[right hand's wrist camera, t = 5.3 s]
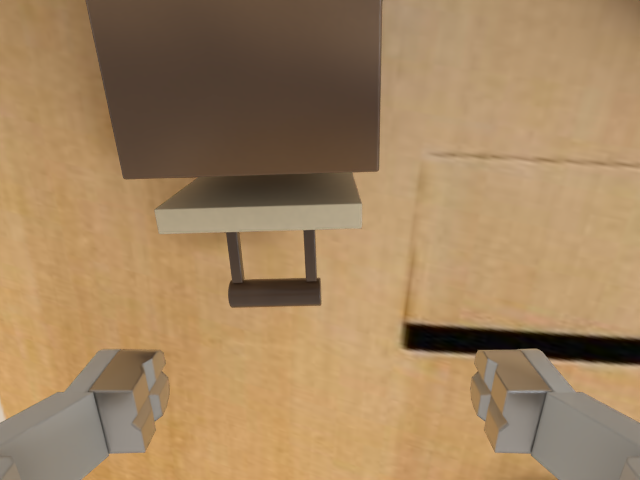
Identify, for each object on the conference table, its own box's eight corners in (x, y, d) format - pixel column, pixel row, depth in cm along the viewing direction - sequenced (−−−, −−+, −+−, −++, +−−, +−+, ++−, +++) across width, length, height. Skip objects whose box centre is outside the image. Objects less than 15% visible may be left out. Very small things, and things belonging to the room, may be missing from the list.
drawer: (351, 267, 28) (361, 336, 20) (218, 271, 28) (178, 340, 21) (348, -191, 19) (364, -370, 12) (156, -181, 20) (47, -351, 12)
